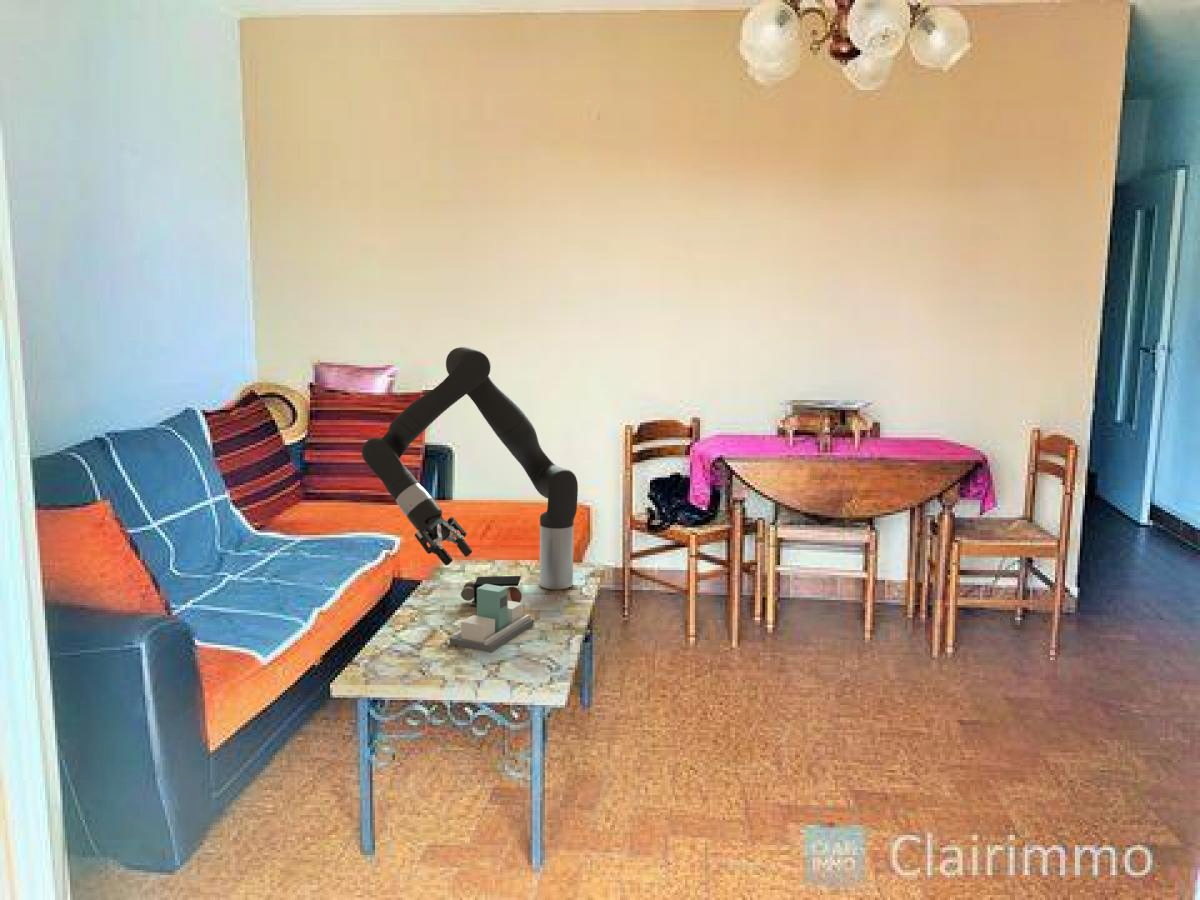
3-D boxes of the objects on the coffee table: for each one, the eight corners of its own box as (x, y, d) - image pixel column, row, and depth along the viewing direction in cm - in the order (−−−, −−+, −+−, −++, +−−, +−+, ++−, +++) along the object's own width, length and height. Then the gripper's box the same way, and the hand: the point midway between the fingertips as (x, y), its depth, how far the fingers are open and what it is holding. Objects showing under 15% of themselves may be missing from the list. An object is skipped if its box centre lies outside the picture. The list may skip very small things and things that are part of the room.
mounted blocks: (501, 614, 235) (501, 599, 234) (522, 618, 232) (522, 603, 232) (461, 638, 219) (461, 621, 218) (483, 642, 216) (483, 625, 215)
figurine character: (462, 614, 244) (521, 609, 243) (458, 585, 243) (517, 580, 242) (466, 605, 250) (523, 600, 250) (463, 577, 249) (520, 572, 249)
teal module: (485, 623, 228) (485, 583, 227) (508, 627, 226) (508, 587, 224) (477, 629, 225) (476, 588, 223) (499, 633, 222) (499, 592, 221)
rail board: (494, 618, 237) (494, 608, 236) (533, 625, 232) (533, 615, 232) (449, 644, 219) (449, 633, 219) (490, 652, 214) (490, 641, 214)
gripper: (410, 502, 221) (452, 556, 219) (444, 491, 234) (485, 542, 231) (392, 522, 224) (433, 575, 222) (426, 510, 237) (466, 560, 234)
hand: (459, 558), depth 226 cm, fingers open, 8 cm apart
